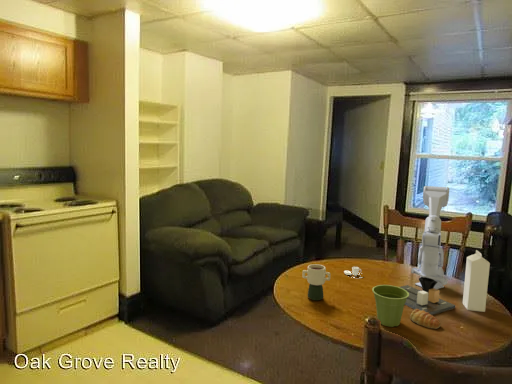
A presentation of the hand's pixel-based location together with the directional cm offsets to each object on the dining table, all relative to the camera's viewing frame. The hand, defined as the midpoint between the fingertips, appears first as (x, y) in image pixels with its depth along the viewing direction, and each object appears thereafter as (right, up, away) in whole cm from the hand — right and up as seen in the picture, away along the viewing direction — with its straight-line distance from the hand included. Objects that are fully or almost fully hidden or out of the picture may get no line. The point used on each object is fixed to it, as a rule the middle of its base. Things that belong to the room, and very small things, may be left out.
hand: (427, 296), depth 141 cm
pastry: (-9, -5, -16) cm, 19 cm away
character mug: (-44, -2, +2) cm, 44 cm away
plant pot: (-21, -4, -17) cm, 28 cm away
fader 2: (+1, -1, -2) cm, 3 cm away
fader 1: (-4, -1, -5) cm, 7 cm away
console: (-3, -2, +1) cm, 4 cm away
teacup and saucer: (-21, +1, +32) cm, 38 cm away
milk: (+16, -3, -4) cm, 17 cm away
